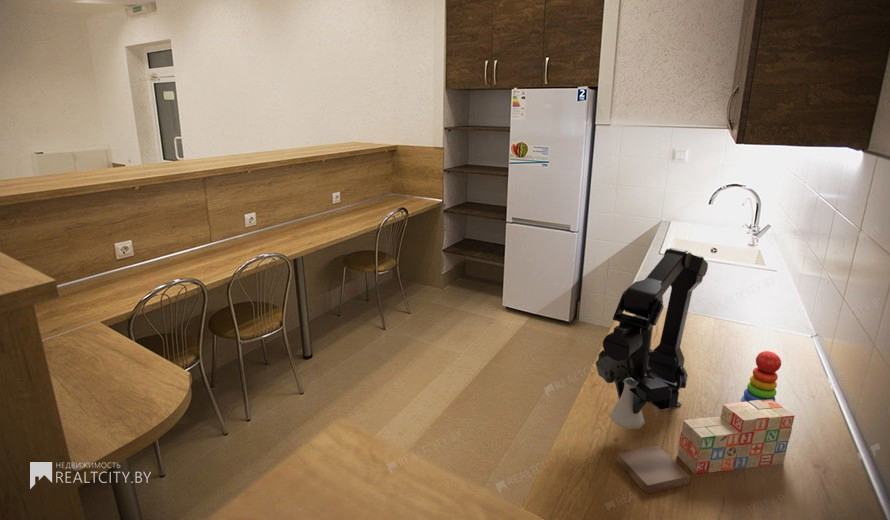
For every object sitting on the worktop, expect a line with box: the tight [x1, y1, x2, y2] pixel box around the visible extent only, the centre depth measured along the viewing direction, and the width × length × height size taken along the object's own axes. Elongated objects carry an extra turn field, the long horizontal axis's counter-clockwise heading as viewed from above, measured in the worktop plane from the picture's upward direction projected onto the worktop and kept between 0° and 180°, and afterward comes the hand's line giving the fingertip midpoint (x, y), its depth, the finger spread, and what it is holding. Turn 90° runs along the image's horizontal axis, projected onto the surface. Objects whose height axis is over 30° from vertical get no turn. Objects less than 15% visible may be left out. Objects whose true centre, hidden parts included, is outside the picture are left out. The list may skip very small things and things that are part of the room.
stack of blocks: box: [676, 400, 796, 475], centre depth 108 cm, size 21×6×12 cm, turn 100°
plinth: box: [616, 445, 691, 494], centre depth 106 cm, size 10×10×2 cm
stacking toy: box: [740, 350, 782, 402], centre depth 121 cm, size 8×8×19 cm
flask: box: [609, 378, 646, 430], centre depth 113 cm, size 7×7×10 cm
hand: (628, 406), depth 114 cm, fingers closed on flask, 5 cm apart
